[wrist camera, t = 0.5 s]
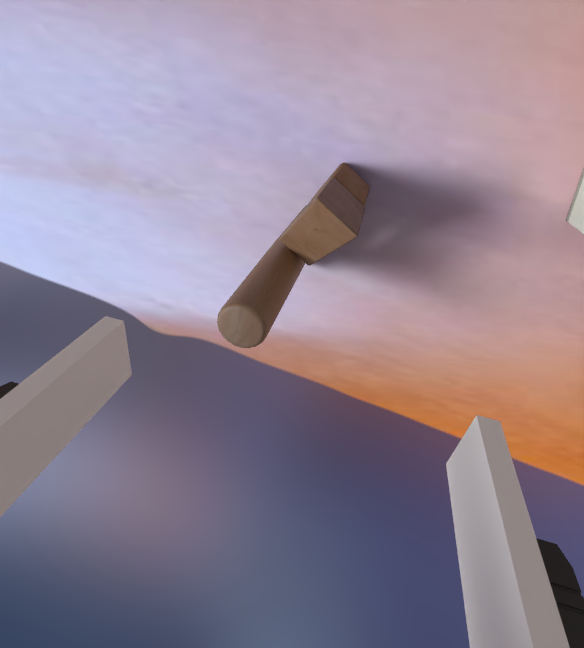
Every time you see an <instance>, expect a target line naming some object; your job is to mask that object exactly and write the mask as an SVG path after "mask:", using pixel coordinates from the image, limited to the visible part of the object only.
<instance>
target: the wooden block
mask: <svg viewBox="0 0 584 648" xmlns="http://www.w3.org/2000/svg"><path fill="white" fill-rule="evenodd" d="M369 189H370V187H369V185H368V184H367V183H366V182H365V181H364V180H363V179H362V178H361V177H360V176H359V175H358V174H357V173H356V172H355V171H353V170H352V169H351V168H350V167H349V166H348V165H347V164H346V163H342V164H340V166H339V167H338V168H337V169H336V170H335V172H334V173H333V174H332V175H331V176H330V178H329V179H328V180H327V181H326V182H325V183H324V185H323V186H322V187H321V188H320V190H319V191H318V192H317V193H316V195H315V196H314V197H313V198H312V200H311V201H310V202H309V204H308V205H306V206H305V207H304V208H303V210H302V211H301V212H300V213H299V214H298V216H297V217H296V218H295V219H294V220H293V221H292V223H291V224H290V225H289V226H288V227H287V229H286V230H285V231H284V232H283V233H282V235H281V236H280V237H279V238H278V239H277V240H276V241H275V242H274V244H273V245H272V246H271V247H270V249H269V250H268V251H267V252H266V254H265V255H264V256H263V257H262V259H261V260H260V261H259V262H258V264H257V265H256V266H255V267H254V269H253V270H252V271H251V272H250V274H249V275H248V276H247V277H246V279H245V280H244V281H243V282H242V283H241V285H240V286H239V287H238V288H237V290H236V291H235V292H234V293H233V295H232V296H231V297H230V298H229V300H228V301H227V302H226V303H225V305H224V306H223V307H222V308H221V310H220V312H219V314H218V321H217V323H218V328H219V331H220V332H221V334H222V336H223V337H224V338H225V339H226V340H227V341H228V342H230V343H232V344H233V345H235V346H238V347H241V348H251V347H255V346H257V345H259V344H260V343H262V342H263V341H264V339H265V338H266V336H267V334H268V332H269V331H270V329H271V327H272V325H273V323H274V321H275V319H276V317H277V315H278V314H279V312H280V310H281V308H282V306H283V304H284V302H285V300H286V299H287V297H288V295H289V293H290V291H291V289H292V287H293V285H294V283H295V282H296V280H297V278H298V276H299V274H300V272H301V270H302V268H303V266H304V265H305V263H306V264H307V265H311V264H313V263H315V262H316V261H318V260H320V259H321V258H323V257H325V256H326V255H328V254H330V253H331V252H333V251H334V250H336V249H338V248H339V247H341V246H343V245H344V244H346V243H348V242H349V241H351V240H353V239H354V238H356V237H357V236H358V232H359V229H360V225H361V221H362V218H363V214H364V210H365V207H364V206H365V203H366V199H367V196H368V192H369Z"/></svg>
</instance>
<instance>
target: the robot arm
mask: <svg viewBox="0 0 584 648" xmlns="http://www.w3.org/2000/svg"><path fill="white" fill-rule="evenodd" d="M131 375H132V373H131V366H130V360H129V353H128V347H127V339H126V333H125V326H124V321H122V320H118V319H114V318H110V317H107V316H106V317H104V318H103V319H101V320H100V321H99V322H98V323H96V324H95V325H94V326H92V327H91V328H90V329H89V330H87V331H86V332H85V333H84V334H82V335H81V336H80V337H79V338H77V339H76V340H75V341H73V342H72V343H71V344H70V345H68V346H67V347H66V348H64V349H63V350H62V351H61V352H60V353H58V354H57V355H56V356H54V357H53V358H52V359H51V360H50V361H48V362H47V363H45V364H44V365H43V366H42V367H40V368H39V369H38V370H37V371H35V372H34V373H33V374H31V375H30V376H29V377H28V378H27V379H25V380H24V381H23V382H21V383H20V384H18V383H14V382H9V383H7V384H5V385H3V386H0V517H1V516H2V515H3V513H4V512H5V511H6V510H7V509H8V508H9V507H10V506H11V505H12V504H13V503H14V501H15V500H16V499H17V498H18V497H19V496H20V495H21V494H22V493H23V492H24V491H25V490H26V488H27V487H28V486H29V485H30V484H31V483H32V482H33V481H34V480H35V479H36V478H37V477H38V476H39V474H40V473H41V472H42V471H43V470H44V469H45V468H46V467H47V466H48V465H49V464H50V462H51V461H52V460H53V459H54V458H55V457H56V456H57V455H58V454H59V453H60V452H61V451H62V449H63V448H64V447H65V446H66V445H67V444H68V443H69V442H70V441H71V440H72V439H73V438H74V436H75V435H76V434H77V433H78V432H79V431H80V430H81V429H82V428H83V427H84V426H85V425H86V424H87V422H88V421H89V420H90V419H91V418H92V417H93V416H94V415H95V414H96V413H97V412H98V411H99V409H100V408H101V407H102V406H103V405H104V404H105V403H106V402H107V401H108V400H109V399H110V397H111V396H112V395H113V394H114V393H115V392H116V391H117V390H118V389H119V388H120V387H121V386H122V384H123V383H124V382H125V381H126V380H127V379H128V378H129V377H130V376H131ZM446 466H447V474H448V482H449V489H450V497H451V504H452V512H453V520H454V528H455V535H456V543H457V551H458V558H459V565H460V573H461V581H462V589H463V596H464V604H465V612H466V619H467V627H468V635H469V643H470V648H584V598H583V596H581V590H580V587H579V584H578V581H577V579H576V576H575V573H574V571H573V568H572V566H571V565H570V563H569V562H568V560H567V559H566V557H565V556H564V554H563V553H562V551H561V550H560V548H559V547H558V545H557V544H554V543H550V542H547V541H544V540H540V539H537V538H536V536H535V533H534V530H533V527H532V524H531V520H530V517H529V514H528V510H527V507H526V504H525V501H524V497H523V494H522V491H521V488H520V484H519V481H518V478H517V475H516V471H515V468H514V465H513V462H512V459H511V455H510V452H509V449H508V446H507V442H506V439H505V436H504V433H503V429H502V426H501V423H500V421H497V420H493V419H489V418H486V417H482V416H478V415H476V417H475V419H474V420H473V422H472V423H471V425H470V427H469V428H468V430H467V431H466V433H465V435H464V436H463V438H462V439H461V441H460V443H459V444H458V446H457V447H456V449H455V451H454V452H453V454H452V455H451V457H450V459H449V460H448V462H447V464H446Z"/></svg>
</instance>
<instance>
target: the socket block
mask: <svg viewBox="0 0 584 648" xmlns="http://www.w3.org/2000/svg"><path fill="white" fill-rule="evenodd" d="M566 221H567V222H569V223H570V224H571V225H573V226H574V227H575V228H576V229H578V230H579V231H580V232H582V233H583V234H584V169H583V172H582V175H581V178H580V181H579V184H578V187H577V190H576V193H575V195H574V198H573V201H572V204H571V207H570V210H569V213H568V216H567V218H566Z"/></svg>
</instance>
